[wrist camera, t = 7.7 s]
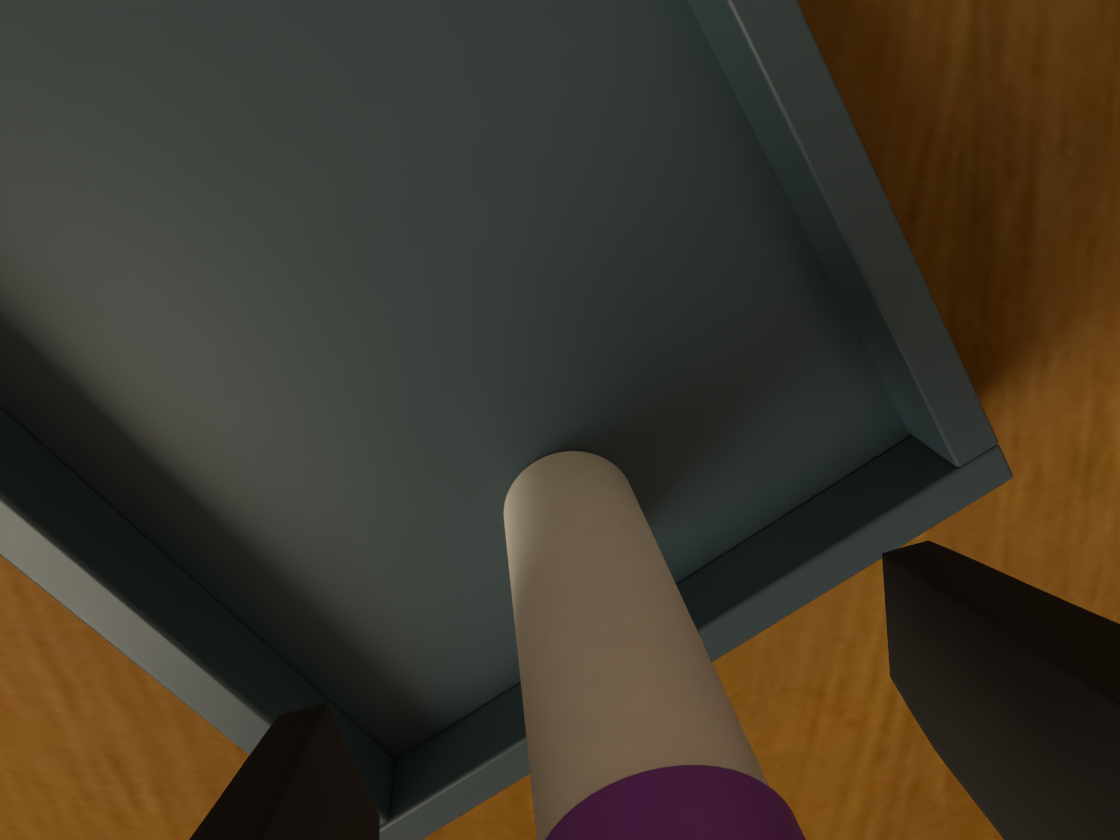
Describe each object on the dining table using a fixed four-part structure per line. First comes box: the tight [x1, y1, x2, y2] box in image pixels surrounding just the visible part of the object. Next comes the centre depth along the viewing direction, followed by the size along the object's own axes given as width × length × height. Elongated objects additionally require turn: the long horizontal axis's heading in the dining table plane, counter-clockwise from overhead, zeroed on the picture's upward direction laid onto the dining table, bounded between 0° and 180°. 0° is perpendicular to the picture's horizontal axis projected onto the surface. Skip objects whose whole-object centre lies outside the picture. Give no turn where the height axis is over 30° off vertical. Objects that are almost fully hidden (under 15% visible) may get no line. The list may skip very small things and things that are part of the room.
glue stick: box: [504, 451, 806, 840], centre depth 9 cm, size 3×3×9 cm
